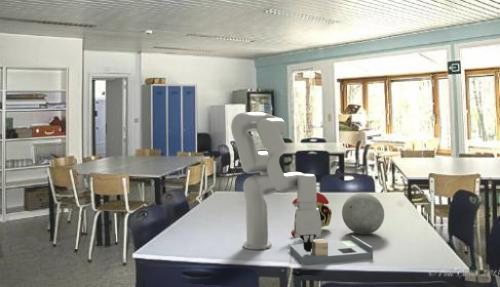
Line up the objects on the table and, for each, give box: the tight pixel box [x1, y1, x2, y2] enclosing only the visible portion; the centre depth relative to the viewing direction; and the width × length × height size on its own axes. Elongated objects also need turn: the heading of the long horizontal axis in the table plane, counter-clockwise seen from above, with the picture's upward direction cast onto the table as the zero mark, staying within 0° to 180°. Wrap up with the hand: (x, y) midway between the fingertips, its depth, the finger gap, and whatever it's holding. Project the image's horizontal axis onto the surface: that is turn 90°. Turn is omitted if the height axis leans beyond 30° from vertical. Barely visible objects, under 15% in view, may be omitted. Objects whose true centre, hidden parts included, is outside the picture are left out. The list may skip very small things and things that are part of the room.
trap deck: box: [289, 235, 374, 265], centre depth 172 cm, size 18×29×4 cm, turn 101°
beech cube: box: [312, 238, 329, 256], centre depth 166 cm, size 5×5×5 cm
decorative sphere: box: [341, 192, 385, 235], centre depth 202 cm, size 20×20×20 cm
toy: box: [290, 191, 333, 237], centre depth 207 cm, size 7×27×20 cm, turn 127°
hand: (307, 250), depth 166 cm, fingers closed
